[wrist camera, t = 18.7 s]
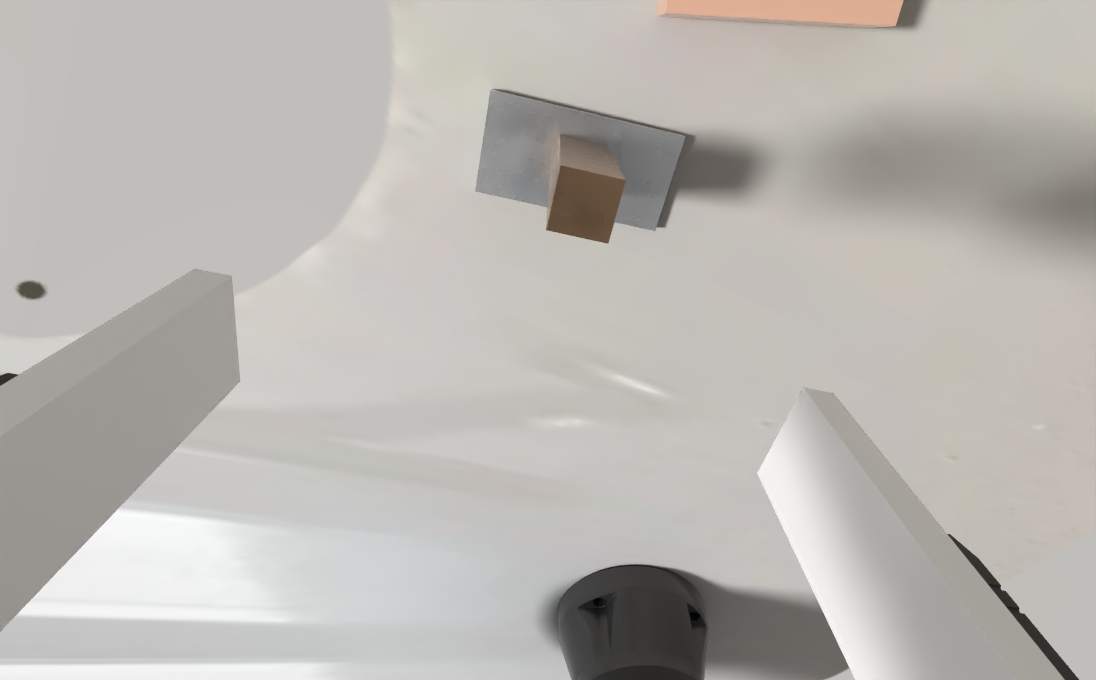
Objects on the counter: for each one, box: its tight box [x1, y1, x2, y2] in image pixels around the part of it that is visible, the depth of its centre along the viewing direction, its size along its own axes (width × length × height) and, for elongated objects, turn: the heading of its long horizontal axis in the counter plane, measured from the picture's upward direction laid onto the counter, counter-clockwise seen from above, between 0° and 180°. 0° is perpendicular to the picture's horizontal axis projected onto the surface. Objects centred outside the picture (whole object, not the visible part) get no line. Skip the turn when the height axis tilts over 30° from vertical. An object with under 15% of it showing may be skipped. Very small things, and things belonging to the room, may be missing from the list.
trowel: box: [475, 89, 685, 243], centre depth 29 cm, size 12×6×11 cm, turn 78°
